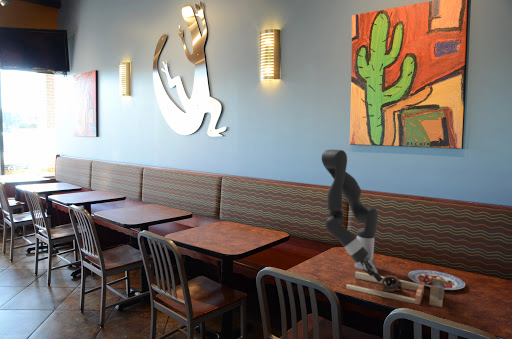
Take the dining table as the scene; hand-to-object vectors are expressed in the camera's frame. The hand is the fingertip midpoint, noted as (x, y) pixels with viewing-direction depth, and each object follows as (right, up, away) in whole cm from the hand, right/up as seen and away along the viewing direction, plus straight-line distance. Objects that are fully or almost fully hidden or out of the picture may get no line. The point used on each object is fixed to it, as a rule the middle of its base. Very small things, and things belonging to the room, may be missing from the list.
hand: (380, 280), depth 186 cm
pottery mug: (+4, -5, -2) cm, 7 cm away
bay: (+2, -4, -1) cm, 4 cm away
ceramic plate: (+31, -5, +11) cm, 33 cm away
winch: (+21, -6, -12) cm, 25 cm away
